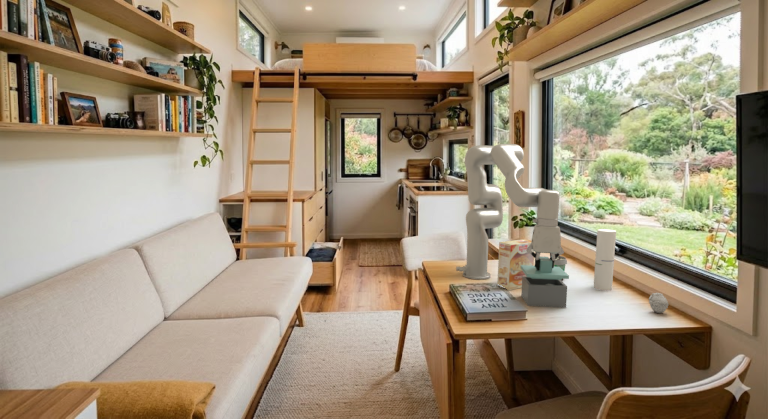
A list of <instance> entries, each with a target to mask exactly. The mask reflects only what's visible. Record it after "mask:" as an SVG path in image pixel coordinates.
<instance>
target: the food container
mask: <svg viewBox="0 0 768 419" xmlns="http://www.w3.org/2000/svg"><path fill="white" fill-rule="evenodd" d="M567 260H568V259H567V258H566V257H565V256H563V255H560V256H558V257H557V258H556V259H555V260H554V267H560V268H561V269H562V270H563V271H564V272H566V265H567V264H568V261H567ZM561 281H562V282H564V279H562V280H561Z"/></svg>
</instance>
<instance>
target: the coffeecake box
mask: <svg viewBox="0 0 768 419" xmlns="http://www.w3.org/2000/svg"><path fill="white" fill-rule="evenodd" d="M531 242H532V240H528V239H524V238H523V239H514V240H508V241H499V244H498V245H499V246H498V260H497V262H498V263H497V264H498V266H497V283H496V284H499V285H502V286H503V287H505V288H506V289H507V291H513V290H517V289H522V276H523V277H527V276H526V275H525V273H524V272H523V271H522V269H521V268H520V267H521V265H530V266H535V258H534V257H533V256H532V255H531V254H530V253H528V252H527V251H526V249H527V248H528V247H529V246H530V244H531ZM531 251H533V249H532V250H531ZM533 252H534V253H535V251H533ZM506 289H505V290H506Z"/></svg>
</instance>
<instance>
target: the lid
mask: <svg viewBox="0 0 768 419" xmlns="http://www.w3.org/2000/svg"><path fill="white" fill-rule="evenodd" d="M539 260H540V269H539V270H537V269H536V267H535V265H533V266H530V265H521V267H520V268H521V269H522V271H523V272H524V273H525V275H526V276H527V277H530V278H532V279H554V280H562V279H563V280H569V279H570V275H568V273H567V272H566V271H563V270H562V269H561V268H560V267H554V268H552V260H551V259H550V258H549V257H548V256H540V257H539Z"/></svg>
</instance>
